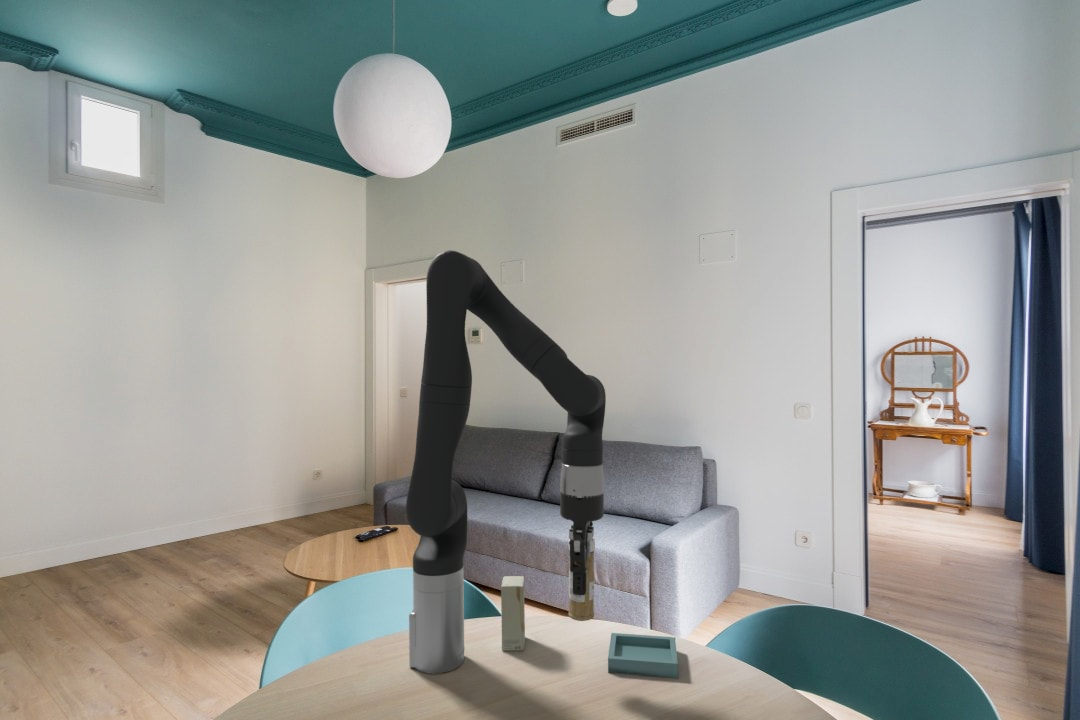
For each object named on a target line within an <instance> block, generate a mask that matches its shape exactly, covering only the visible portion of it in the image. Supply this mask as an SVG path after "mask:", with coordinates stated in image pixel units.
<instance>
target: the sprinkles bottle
mask: <svg viewBox="0 0 1080 720" xmlns="http://www.w3.org/2000/svg"><path fill="white" fill-rule="evenodd" d="M569 541H570V539H569V538H568V542H569ZM568 550H569V553H570V545H569V544H568ZM595 550H596V541H595V538H594V537H593V538H592V541H591V548H590V558H588V559H587V568H588V570H587V573H586V594H585V595H575V594H573V572H571V571H570V557H569V558H568V559H569V561H568V562H569V564H568V565H569V566H568V567H569V568H568V597H569V601H568V604H569V605H568V606H569V607H568V613H567V615H568V617H569V618H571V619H572V620H574V621H577V622H587V621H590V620H592V619H593V618H594V617H595V610H594V609H595V608H594V607H595V606H594V600H595V599H594V598H595V572H594V569H595V567H594V564H595V562H594V556H595V555H594V554H595ZM586 552H587V548H586V549H585V553H586ZM576 565H582V562H581V561H576Z"/></svg>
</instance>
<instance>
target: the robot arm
mask: <svg viewBox="0 0 1080 720" xmlns="http://www.w3.org/2000/svg"><path fill="white" fill-rule="evenodd" d="M425 284H426V285H425V286H426V289H425V290H426V331H425V339H424V340H425V341H424V342H425V343H424V351H423V353H424V354H423V362H422V363H423V365H422V373H421V380H420V382H421V383H420V389H419V390H420V391H419V400H418V401H419V402H418V415H417V416H418V418H417V427H416V440H415V451H414V453H415V454H414V460H413V461H414V462H413V465H412V472H411V477H410V483H409V486H408V489H407V490H408V491H407V497H406V502H405V515H406V520H407V523H408V524H409V526H410V528H411V529H412V530H413V531H414V533H416V534H417V535H419V536H420V537H419V541H418V545H417V547H416V549H415V551H414V553H413V557H412V586H413V587H412V588H413V589H412V590H413V592H412V595H413V596H412V597H413V598H412V601H413V602H412V603H413V604H412V605H413V607H412V610H411V612H410V613H409V615H408V629H409V630H408V631H409V632H408V639H409V641H408V642H409V646H408V650H409V653H408V655H409V662H408V663H409V668H414V669H416V670H417V671H419V672H422V673H425V674H442V673H447V672H450V671H453V670H456V669H458V668H459V667H460V666H461V665H462V664H463V663H464V661H465V607H464V606H465V599H464V598H465V597H464V596H465V595H464V594H465V592H464V591H465V587H464V583H465V582H464V581H465V580H464V576H465V575H464V559H465V558H464V557H465V552H466V549H467V542H468V502H467V501H468V500H467V494H466V492H465V490H464V489H463V487H462V486H461V485H460V483H459V482H458V481H456V480H455V479H453V468H454V460H455V456H456V452H457V450H458V447H459V444H460V441H461V439H462V436H463V432H464V430H465V427H466V424H467V421H468V417H469V413H470V407H471V399H472V398H471V397H472V385H473V372H472V364H471V359H470V355H469V351H468V346H467V340H466V339H467V338H466V318H467V311H468V312H470V313H471V314H473V315H474V316H476V317H477V318H479V319H480V320H481V321H482V322H484V324H486V325H487V326H488V328H489V329H490V330H491V331H492V332H493V333H494V334H495V335H496V337H497V338H498V339H499V341H500V342H501V344H502V345H503V347H504V348H505V350H507V351H508V353H510V355H511V356H512V357H513V358H514V359H515V361H517V362H518V363H519V364H520V365H521V366H522V367H523V368H524V369H525V370H527V371H528V372H529V373H530V374H531V375H532V376H534V378H535V379H537V380H538V381H539V382H540V384H541V385H542V386H543V387H544V388H545V390H546V392H548V393H549V395H550V396H551V397H552V398H553V400H554V401H555V402H556V403H558V405H559V406H560V407H561V408H562V409H563V410H565V412H567V420H566V421H567V422H566V429H565V432H564V434H563V437H562V444H561V445H562V449H561V450H562V451H561V453H562V454H561V455H562V457H561V470H560V471H561V472H560V489H559V490H560V495H559V497H560V501H559V505H560V506H559V509H560V512H559V513H560V516H561V518H563V519H564V520H567V521H571V522H572V524H573V525H571V526H570V529H568V546H569V545H570V552H569V558H570V559H569V560H570V571H571V572H573V594H575V595H585V594H586V573H587V570H588V568H587V559H588V558H590V548H591V541H592V538H594V534H595V526H593V525H594V523H593V522H596V521H600V520H601V519H602V518H603V517H604V513H605V512H604V511H605V506H604V504H605V497H604V496H605V491H604V490H605V487H604V486H605V475H604V467H603V465H604V464H603V462H604V461H603V459H604V458H603V457H604V456H603V455H604V450H603V449H604V447H603V446H604V445H603V444H604V443H603V431H604V424H605V415H606V404H607V401H606V389H605V386H604V384H603V383H602V382H601V380H600V379H599V378H598V377H596V376H594V375H590V374H586V373H585V372H584V371H583V370H581V369H580V368H579V367H578V366H577V365H576V364H575V363H574V362H573V361H572V360H570V359H569V357H568V354H567V352H565V350H564V349H563V348H562V347H561V346H560V345H558V343H556V342H555V340H553V338H551V337H550V336H549V335H548V334H547V333H546V332H544V331H543V330H542V329H541V328H540V327H539V326H538V325H537V324H536V323H534V322H533V321H532V320H531V319H529V317H527V316H526V315H525V314H524V313H523V312H521V311H520V309H518V308H517V306H515V305H514V304H513V303H512V302H511V301H510V300H509V299H508V297H506V295H505V294H503V292H502V291H501V290H500V289H499V287H498V286H497V285H496V284H495V282H494V281H493V280H492V278H491V277H490V276H489V274H488V273H487V272H486V270H485V269H484V268H483V266H482V265H481V264H480V263H479V262H478V261H477V260H475V259H474V258H471V257H470V256H468V255H466V254H464V253H462V252H459V251H457V250H451V249H450V250H445V251H444V250H443V251H442V252H440V253H438V254H437V255H435V257H433V259H432V261H431V262H430V265H429V267H428V270H427V274H426V283H425ZM569 539H570V541H569ZM586 548H587V552H586V553H585V549H586ZM576 561H581V562H582V565H576Z"/></svg>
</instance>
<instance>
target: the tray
mask: <svg viewBox="0 0 1080 720" xmlns="http://www.w3.org/2000/svg"><path fill="white" fill-rule="evenodd" d="M673 637H674V638H673ZM608 647H609V649H608V656H607V673H610V674H621V675H632V676H645V677H656V678H657V677H658V678H668V679H679V664H678V662H679V661H678V652H677V643H676V637H675V636H660V635H647V634H635V633H634V634H631V633H617V632H611V634H610V641H609V646H608Z"/></svg>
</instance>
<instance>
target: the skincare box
mask: <svg viewBox="0 0 1080 720" xmlns="http://www.w3.org/2000/svg"><path fill="white" fill-rule="evenodd" d="M500 596H501V597H500V601H501V602H500V605H501V613H500V615H501V650H502V651H524V650H525V649H524V648H525V642H526V627H525V626H526V625H525V624H526V623H525V619H526V617H525V615H526V614H525V576H523V575H512V576H511V575H507V576H505V575H504V576H503V578H502V581H501V585H500Z"/></svg>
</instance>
